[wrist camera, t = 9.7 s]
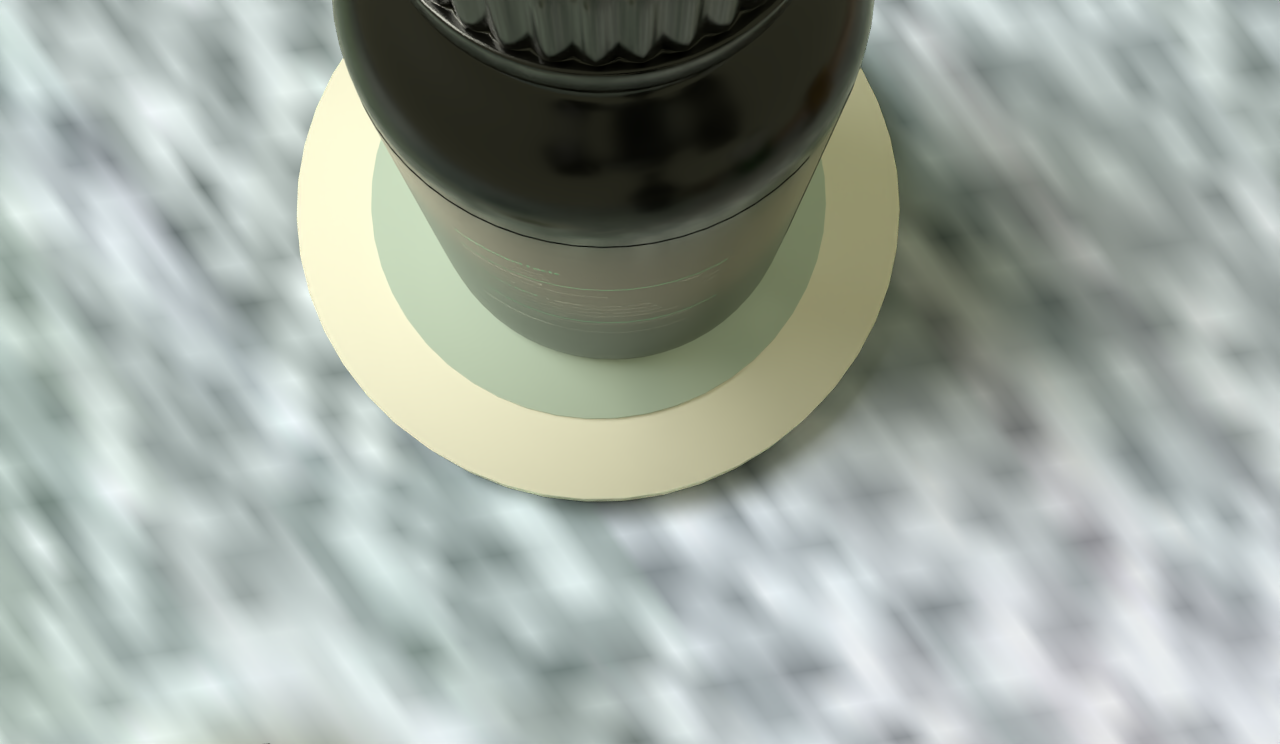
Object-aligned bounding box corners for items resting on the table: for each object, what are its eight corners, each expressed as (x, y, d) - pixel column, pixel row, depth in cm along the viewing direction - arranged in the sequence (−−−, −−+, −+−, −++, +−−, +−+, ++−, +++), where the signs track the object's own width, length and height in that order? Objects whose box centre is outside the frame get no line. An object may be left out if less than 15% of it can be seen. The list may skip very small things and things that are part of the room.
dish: (620, -148, 25) (621, -188, 24) (1003, 234, 23) (1026, 214, 22) (196, 194, 23) (170, 171, 22) (577, 628, 22) (574, 632, 21)
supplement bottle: (503, -3, 23) (369, -626, 11) (825, 91, 23) (1042, -446, 11) (391, 307, 22) (107, -18, 10) (729, 410, 21) (856, 204, 10)
